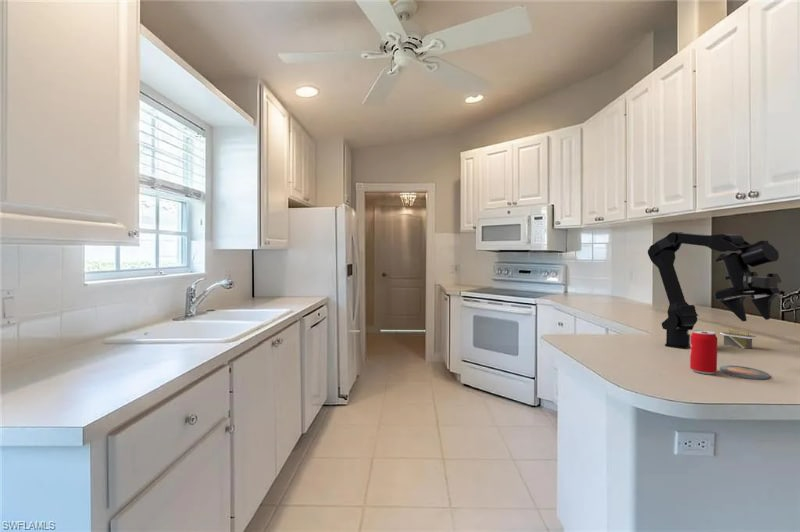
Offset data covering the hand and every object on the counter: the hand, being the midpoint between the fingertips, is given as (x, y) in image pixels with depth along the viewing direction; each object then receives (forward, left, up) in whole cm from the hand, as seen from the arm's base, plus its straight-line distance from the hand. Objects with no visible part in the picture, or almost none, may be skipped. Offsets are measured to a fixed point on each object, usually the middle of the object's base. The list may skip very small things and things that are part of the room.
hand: (756, 320), depth 119 cm
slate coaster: (-2, -10, -14) cm, 18 cm away
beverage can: (-10, -17, -15) cm, 24 cm away
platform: (-6, +26, -15) cm, 31 cm away
